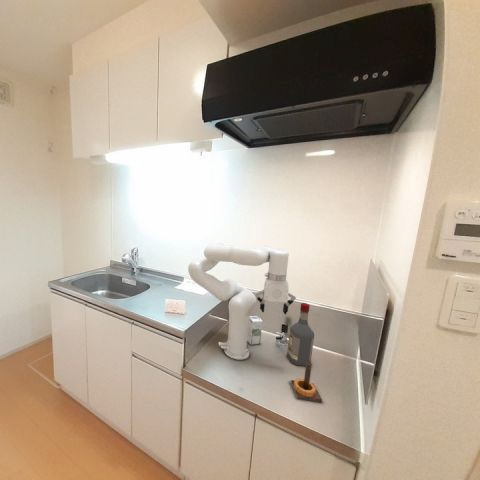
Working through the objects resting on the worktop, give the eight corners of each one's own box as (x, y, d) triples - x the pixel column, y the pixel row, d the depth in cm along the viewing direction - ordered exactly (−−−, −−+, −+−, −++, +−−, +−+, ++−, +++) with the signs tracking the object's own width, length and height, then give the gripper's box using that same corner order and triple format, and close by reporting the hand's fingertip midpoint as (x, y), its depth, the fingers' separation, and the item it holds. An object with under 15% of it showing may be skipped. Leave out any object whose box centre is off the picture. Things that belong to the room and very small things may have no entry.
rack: (297, 398, 103) (300, 369, 101) (290, 382, 112) (293, 355, 109) (321, 402, 102) (325, 372, 99) (312, 386, 110) (316, 358, 108)
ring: (299, 396, 103) (299, 391, 102) (291, 382, 110) (291, 378, 110) (318, 397, 102) (319, 392, 102) (309, 383, 110) (309, 379, 109)
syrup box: (254, 338, 146) (256, 315, 143) (260, 344, 140) (262, 320, 138) (245, 339, 145) (247, 315, 142) (250, 345, 139) (252, 321, 137)
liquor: (303, 355, 131) (310, 301, 126) (312, 367, 122) (320, 309, 117) (285, 354, 132) (291, 300, 127) (292, 365, 123) (299, 308, 118)
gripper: (258, 278, 112) (255, 313, 115) (300, 281, 109) (296, 317, 112) (255, 272, 119) (252, 306, 123) (295, 275, 116) (291, 310, 119)
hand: (273, 312), depth 117 cm, fingers open, 9 cm apart
